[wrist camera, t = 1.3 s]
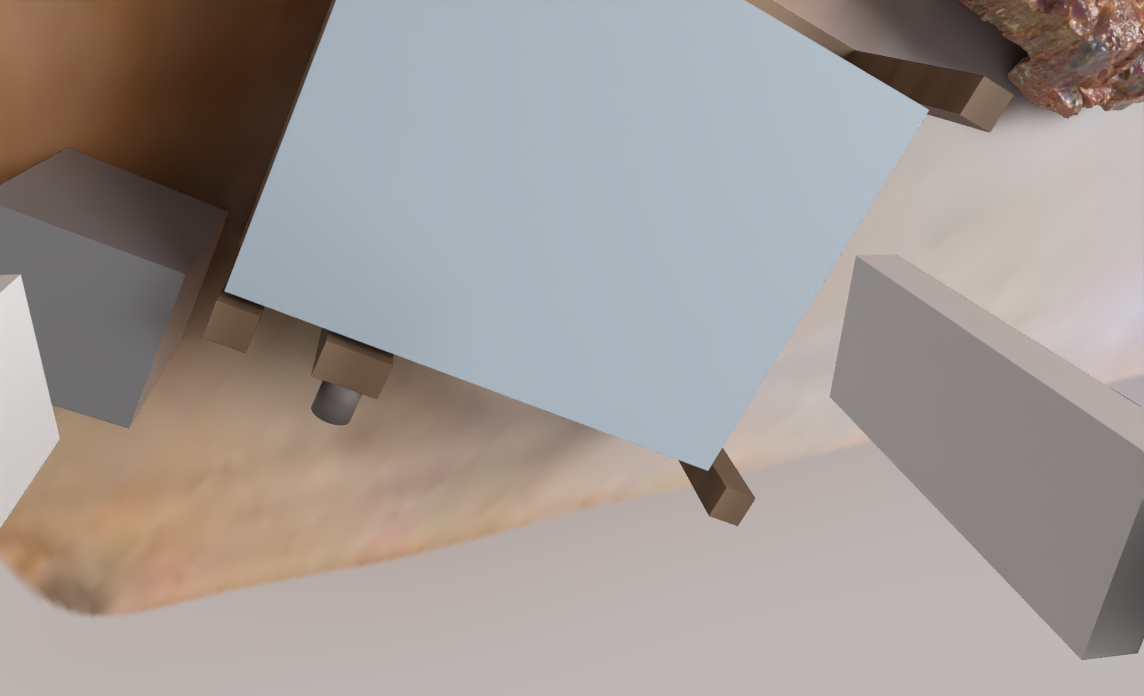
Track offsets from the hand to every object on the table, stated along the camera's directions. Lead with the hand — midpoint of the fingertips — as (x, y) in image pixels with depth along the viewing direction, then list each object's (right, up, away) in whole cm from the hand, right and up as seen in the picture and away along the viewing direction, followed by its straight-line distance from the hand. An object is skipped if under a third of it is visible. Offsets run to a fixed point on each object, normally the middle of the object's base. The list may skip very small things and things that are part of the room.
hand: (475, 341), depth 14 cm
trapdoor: (+1, +6, +14) cm, 15 cm away
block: (-15, +4, +17) cm, 23 cm away
